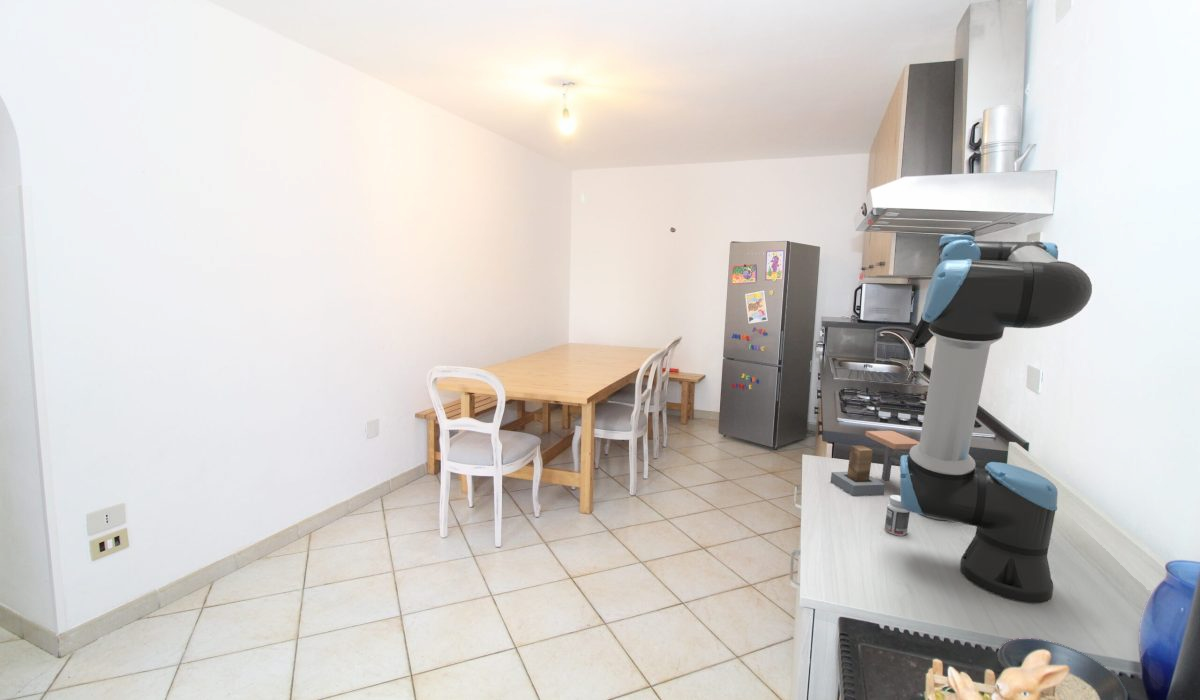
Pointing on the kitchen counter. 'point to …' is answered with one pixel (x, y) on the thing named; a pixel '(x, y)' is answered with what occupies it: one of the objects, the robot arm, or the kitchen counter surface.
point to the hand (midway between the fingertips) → (937, 376)
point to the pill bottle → (896, 517)
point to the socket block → (857, 485)
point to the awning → (891, 447)
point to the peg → (859, 463)
